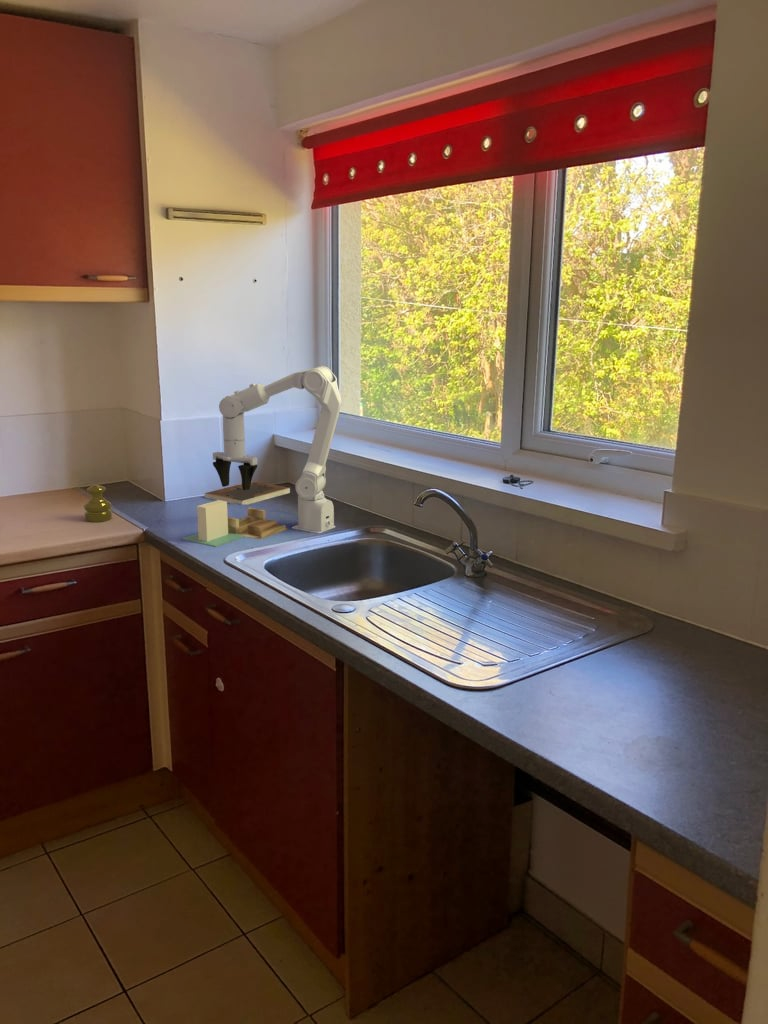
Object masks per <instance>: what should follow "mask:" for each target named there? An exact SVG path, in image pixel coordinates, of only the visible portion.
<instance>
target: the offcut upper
mask: <svg viewBox="0 0 768 1024" xmlns="http://www.w3.org/2000/svg"><path fill="white" fill-rule="evenodd" d="M278 525H279V524H278V520H271V519H267V518H266V519H265V520H262V521H259V522H256V523H253V524H250V525H247V526H248V530H252V531H257V532H261V531H264V530H267V529H270V528H273V527H275V526H278Z"/></svg>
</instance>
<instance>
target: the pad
mask: <svg viewBox="0 0 768 1024" xmlns="http://www.w3.org/2000/svg"><path fill="white" fill-rule="evenodd" d="M245 537H246V536H243V535H239V534H234V533H229V532H228V535H225V536H222V537H219V538H216V539H213V540H211V541H208V542H206V541H202V540H199V537H198V532H197V533H195V534H192V535H189V536H185V537H181V540H183V541H187V542H192V543H197V544H201V545H206V546H210V547H215V548H217V547H219V546H223V545H226V544H228V543H231V542H233V541H237V540H240V539H243V538H245Z"/></svg>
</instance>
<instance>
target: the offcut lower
mask: <svg viewBox="0 0 768 1024" xmlns="http://www.w3.org/2000/svg"><path fill="white" fill-rule="evenodd" d="M277 525H278V526H275V527H273V528H270V529H267V530H264V531H261V532H257V531H252V530H248V534H251V535H256V536H260V533H263V532H265V531H268V530H271V529H274V528H277V527H279V526H281V525H280V524H277Z"/></svg>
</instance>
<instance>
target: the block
mask: <svg viewBox="0 0 768 1024" xmlns="http://www.w3.org/2000/svg"><path fill="white" fill-rule="evenodd" d="M196 513H197V514H196V516H197V533H198V537H199V540H202V541H206V542H208V541H211V540H213V539H216V538H219V537H222V536H225V535H228V517H229V516H228V503H227V501H221V500H213V501H210V502H207V503H204V504H200V505H197V506H196Z"/></svg>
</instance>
